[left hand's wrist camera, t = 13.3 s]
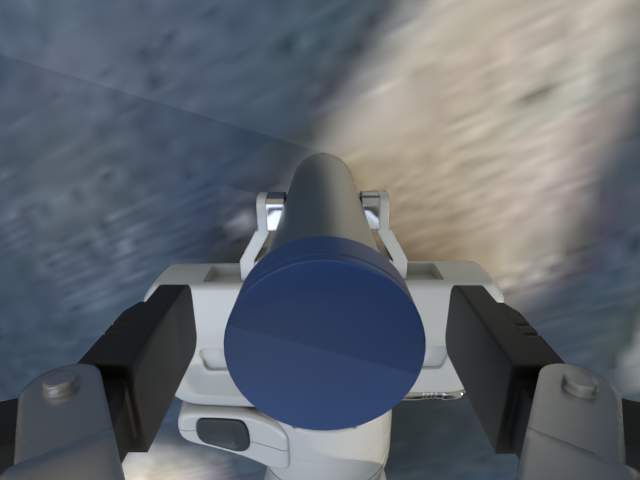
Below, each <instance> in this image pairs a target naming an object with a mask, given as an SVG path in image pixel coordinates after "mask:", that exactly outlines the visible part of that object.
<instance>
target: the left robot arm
mask: <svg viewBox="0 0 640 480" xmlns="http://www.w3.org/2000/svg"><path fill="white" fill-rule="evenodd" d="M196 343H197V332H196V324H195V315H194V307H193V299H192V292H191V288H190V286H189V285H187V284H162V285H159V286H158V287H157V289H156V290H155V291H154V292H153V293H152V295H151V296H150V297H149V298H148V299H147V301H146V302H139V303H137V304H135V305H134V306H132V307H130V308H129V309H127V310H125V311H124V312H123V313H122V314H121V315H120V316H119V317H118V318H117V320H116V321H115V322H114V324H113V325H111V326H110V327H109V328H108V330H107V331H106V332H105V335H102V336H101V337H100V339H99V340H98V341H97V342H96V343H95V344H94V345H93V346H92V347H91V349H90V350H89V351H88V352H87V353H86V354H85V355H84V356H83V358H82V359H81V360H80V361H79V362H78V363H77V364H71V365H66V366H62V367H59V368H56V369H53V370H50V371H48V372H46V373H44V374H42V375H40V376H39V377H37V378H35V379H34V380H33V381H31V382H30V383H29V384H28V385H27V386H26V387H25V388H24V389H23V390H22V391H21V393H20V395H19V398H17V399H12V400H7V401H2V402H0V480H125V478H124V473H123V469H122V462H123V460H124V458H125V457H126V455H127V453H128V452H148V450H149V448H150V446H151V444H152V442H153V440H154V438H155V436H156V433H157V431H158V429H159V427H160V425H161V423H162V421H163V419H164V417H165V415H166V413H167V411H168V408H169V406H170V404H171V402H172V400H173V398H174V396H175V394H176V392H177V390H178V388H179V385H180V383H181V381H182V379H183V377H184V375H185V373H186V371H187V369H188V367H189V365H190V362H191V360H192V358H193V356H194V353H195V350H196ZM445 343H446V350H447V354H448V357H449V359H450V361H451V363H452V365H453V367H454V369H455V371H456V373H457V375H458V377H459V379H460V381H461V383H462V385H463V388H464V390H465V392H466V394H467V396H468V398H469V400H470V402H471V404H472V406H473V408H474V410H475V412H476V414H477V416H478V418H479V420H480V423H481V425H482V427H483V429H484V431H485V433H486V435H487V437H488V439H489V441H490V443H491V445H492V447H493V449H494V451H495V453H496V454H516V455H517V457H518V459H519V464H518V469H517V473H516V478H515V480H640V402H635V401H631V400H626V399H622V398H621V395H620V393H619V391H618V390H617V389H616V388H615V387H614V386H613V385H612V384H611V383H610V382H609V381H607V380H606V379H605V378H603V377H601V376H600V375H598V374H596V373H594V372H592V371H590V370H587V369H584V368H581V367H578V366H574V365H569V364H565V363H564V362H563V360H562V359H561V358H560V357H559V356H558V355H557V354H556V353H555V352H554V350H553V349H552V348H551V347H550V346H549V345H548V344H547V343H546V342H545V340H544V339H543V338H542V337H541V336H538V333H537V332H536V331H535V329H534V328H533V327H532V326H529V323H528V322H527V321H526V319H525V318H524V317H523V316H522V315H521V314H520V313H519V312H518V311H516V310H514V309H513V308H511V307H509V306H508V305H506V304H504V303H503V302H496V301H495V299H494V298H493V297H492V296H491V295H490V293H489V292H488V291H487V290H486V289H485V287H484V286H482V285H454V286H453V287H452V289H451V293H450V301H449V309H448V317H447V325H446V333H445Z"/></svg>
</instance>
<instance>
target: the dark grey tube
mask: <svg viewBox="0 0 640 480" xmlns="http://www.w3.org/2000/svg"><path fill="white" fill-rule="evenodd" d="M316 236H335V237H341V238H347V239H350V240H354V241H357V242H360V243H362V244H364V245H367V246H369V247H371V248H372V249H374V250H376V251H377V252H379V251H378V248H377V245H376V242H375V240H374V237H373V234H372V231H371V228H370V226H369V223H368V220H367V217H366V214H365V212H364V209H363V206H362V203H361V200H360V198H359V195H358V192H357V189H356V187H355V184H354V181H353V178H352V175H351V173H350V170H349V168H348V167H347V166H346V164H345V163H344V162H343V161H342V160H340V159H339V158H337V157H335V156H332V155H328V154H317V155H313V156H311V157H309V158H307V159H305V160H304V161H303V162H302V163H301V164H300V165H299V166H298V168H297V169H296V172H295V174H294V177H293V180H292V183H291V186H290V189H289V192H288V195H287V198H286V201H285V204H284V207H283V210H282V213H281V216H280V219H279V222H278V225H277V228H276V231H275V234H274V237H273V240H272V243H271V246H270V249H269V252H268V254H269V253H270V252H272V251H273V250H275V249H276V248H278V247H280V246H282V245H284V244H286V243H289V242H292V241H295V240H298V239H303V238H307V237H316Z"/></svg>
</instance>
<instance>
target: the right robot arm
mask: <svg viewBox="0 0 640 480" xmlns="http://www.w3.org/2000/svg"><path fill="white" fill-rule="evenodd" d="M286 198H287V196H286V192H260V193H259V194H258V196H257V202H256V208H257V223H258V227H257V228H256V230H255V232H254V234H253V236H252V238H251V240H250V242H249V244H248V246H247V247H246V250H245V252H244V254H243V256H242V258H241V260H240V263H192V264H173V265H171V266H169V267H168V268H167V269H166V270H165V271H164V272H163V273H162V274H161V275H160V276H159V277H158V278H157V279H156V280H155V282H154V283H153V284H152V285H151V287H150V288H149V290H148V291H147V293H146V295H145V298H144V302H146V301H147V299H148V298H149V297H150V296H151V295H152V293H153V292H154V291H155V290H156V289H157V287H158V286H159V285H162V284H187V285H189V286H190V288H191V292H192V299H193V307H194V315H195V324H196V332H197V343H196V350H195V353H194V356H193V358H192V360H191V362H190V365H189V367H188V369H187V371H186V373H185V375H184V377H183V379H182V381H181V383H180V385H179V388H178V390H177V392H176V394H175V396H176V397H178V398H179V399H181V400H183V403H182V407H181V410H180V414H179V419H178V425H179V431H180V433H181V435H182V436H183V437H184V438H185V439H187V440H189V441H191V442H194V443H198V444H202V445H207V446H211V447H215V448H219V449H223V450H226V451H230V452H233V453H236V454H239V455H243V456H245V457H248V458H251V459H253V460H256V461H258V462H260V463H262V464H265V465H266V467H267V470H266V474H265V480H386V476H385V472H384V467H385V464H386V462H387V459H388V454H389V449H390V432H391V417H392V409H391V410H390V411H388V412H387V413H385V414H384V415H382V416H380V417H378V418H376V419H374V420H372V421H370V422H367V423H365V424H362V425H359V426H355V427H351V428H346V429H340V430H328V431H323V430H309V429H302V428H298V427H294V426H290V425H287V424H285V423H282V422H279V421H277V420H275V419H273V418H271V417H269V416H267V415H266V414H264V413H263V412H261V411H260V410H258V409H257V408H256V407H255V406H253V405H252V404H251V403H250V402H249V401H248V400H247V399H246V398H245V397H244V396H243V395H242V394H241V392H240V391H239V389H238V388H237V387H236V385H235V383H234V382H233V380H232V378H231V376H230V373H229V371H228V368H227V365H226V361H225V356H224V334H225V328H226V325H227V321H228V318H229V316H230V313H231V311H232V308H233V306H234V304H235V301H236V299H237V296H238V294H239V291H240V289H241V287H242V285H243V282H244V280H245V279H246V277H247V275H248V274H249V272H250V271H251V270H252V269H253V267H254V266H255V265H256V264H257V263H258V262H259V261H260V260H261V259H262V258H263V257H265V256H266V255H267V254H268V252H269V248H261V247H262V245H263V243H264V241H265V240H266V238H267V236H268V234H269V232H270V231H272V230H276V228H277V225H278V222H279V219H280V216H281V213H282V210H283V207H284V204H285V201H286ZM359 198H360V200H361V203H362V206H363V209H364V212H365V214H366V217H367V220H368V223H369V226H370V228H371V229H376V230H377V232H378V234H379V236H380V237H381V239H382V241H383V243H384V244H385V246H386V247H378V251H379V253H380V254H382V255H383V256H384V257H385V258H387V259H388V260H389V261H390V262H391V263H392V264H393V265H394V266H395V268H396V269H397V270H398V271H399V273H400V274H401V276H402V277H403V279H404V281H405V283H406V285H407V287H408V289H409V292H410V294H411V296H412V298H413V301H414V303H415V305H416V308H417V310H418V312H419V314H420V317H421V320H422V323H423V326H424V331H425V338H426V351H425V358H424V363H423V366H422V369H421V372H420V374H419V376H418V378H417V380H416V383H415V384H414V386H413V387H412V389H411V390H410V391H409V393H408V394H407V395H406V396H405V397H404V398H403V400H402V401H418V400H426V399H441V400H447V401H448V400H458V399H461V398H462V396H463V394H465V393H466V392H465V390H464V388H463V385H462V383H461V381H460V379H459V377H458V375H457V373H456V371H455V369H454V367H453V365H452V363H451V361H450V359H449V357H448V354H447V350H446V343H445V333H446V325H447V317H448V309H449V301H450V293H451V289H452V287H453V286H454V285H482V286H484V287H485V289H486V290H487V291H488V292H489V293H490V295H491V296H492V297H493V298H494V299H495V301H496V302H503V303H504V296H503V293H502V291H501V289H500V287H499V286H498V284H497V283H496V282H495V281H494V279H493V278H492V277H491V276H490V275H489V274H488V273H487V272H486V271H485V270H484V269H483V268H482V267H481V266H480V265H479V264H477V263H476V262H474V261H407V258H406V256H405V254H404V252H403V250H402V248H401V246H400V244H399V242H398V240H397V239H396V237H395V235H394V233H393V231H392V230H391V228H390V226H389V210H390V200H389V195H388V193H387V192H386V191H360V193H359Z"/></svg>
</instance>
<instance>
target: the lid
mask: <svg viewBox="0 0 640 480" xmlns="http://www.w3.org/2000/svg"><path fill="white" fill-rule="evenodd" d="M425 351H426V338H425V331H424V326H423V323H422V320H421V317H420V314H419V312H418V310H417V308H416V305H415V303H414V301H413V298H412V296H411V294H410V292H409V289H408V287H407V285H406V283H405V281H404V279H403V277H402V276H401V274H400V273H399V271H398V270H397V269H396V268H395V266H394V265H393V264H392V263H391V262H390V261H389V260H388V259H387V258H385V257H384V256H383V255H382V254H380V253H379V252H377V251H376V250H374V249H372V248H371V247H369V246H367V245H364V244H362V243H360V242H357V241H354V240H350V239H347V238H341V237H335V236H316V237H307V238H303V239H298V240H295V241H292V242H289V243H286V244H284V245H282V246H280V247H278V248H276V249H275V250H273V251H272V252H270V253H269V254H267V255H266V256H265V257H263V258H262V259H261V260H260V261H259V262H258V263H257V264H256V265H255V266H254V267H253V269H252V270H251V271H250V272H249V274H248V275H247V277H246V279H245V280H244V282H243V285H242V287H241V289H240V291H239V294H238V296H237V299H236V301H235V304H234V306H233V308H232V311H231V313H230V316H229V318H228V321H227V325H226V328H225V334H224V356H225V361H226V365H227V368H228V371H229V373H230V376H231V378H232V380H233V382H234V383H235V385H236V387H237V388H238V389H239V391H240V392H241V394H242V395H243V396H244V397H245V398H246V399H247V400H248V401H249V402H250V403H251V404H252V405H253V406H255V407H256V408H257V409H258V410H260V411H261V412H263V413H264V414H266V415H267V416H269V417H271V418H273V419H275V420H277V421H279V422H282V423H285V424H287V425H290V426H294V427H298V428H302V429H309V430H323V431H328V430H340V429H346V428H351V427H355V426H359V425H362V424H365V423H367V422H370V421H372V420H374V419H376V418H378V417H380V416H382V415H384V414H385V413H387V412H388V411H390V410H391V409H392V408H394V407H395V406H396V405H397V404H398V403H399V402H401V401H402V400H403V398H404V397H405V396H406V395H407V394H408V393H409V391H410V390H411V389H412V387H413V386H414V384H415V383H416V380H417V378H418V376H419V374H420V372H421V369H422V366H423V363H424V358H425Z"/></svg>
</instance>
